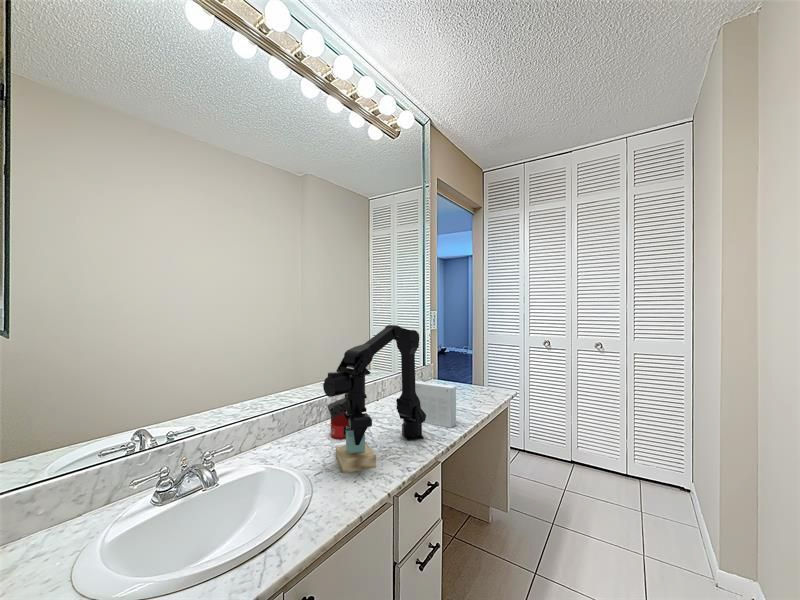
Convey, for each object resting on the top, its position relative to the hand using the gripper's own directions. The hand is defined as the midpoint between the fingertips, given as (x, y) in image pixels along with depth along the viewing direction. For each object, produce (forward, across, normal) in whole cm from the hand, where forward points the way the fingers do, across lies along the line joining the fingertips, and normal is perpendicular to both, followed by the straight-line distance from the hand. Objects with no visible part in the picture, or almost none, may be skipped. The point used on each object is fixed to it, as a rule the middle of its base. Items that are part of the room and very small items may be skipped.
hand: (355, 441), depth 103 cm
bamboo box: (+7, 0, 0) cm, 7 cm away
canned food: (+7, -23, -1) cm, 24 cm away
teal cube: (+2, 0, 0) cm, 2 cm away
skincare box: (+7, -27, +37) cm, 46 cm away
